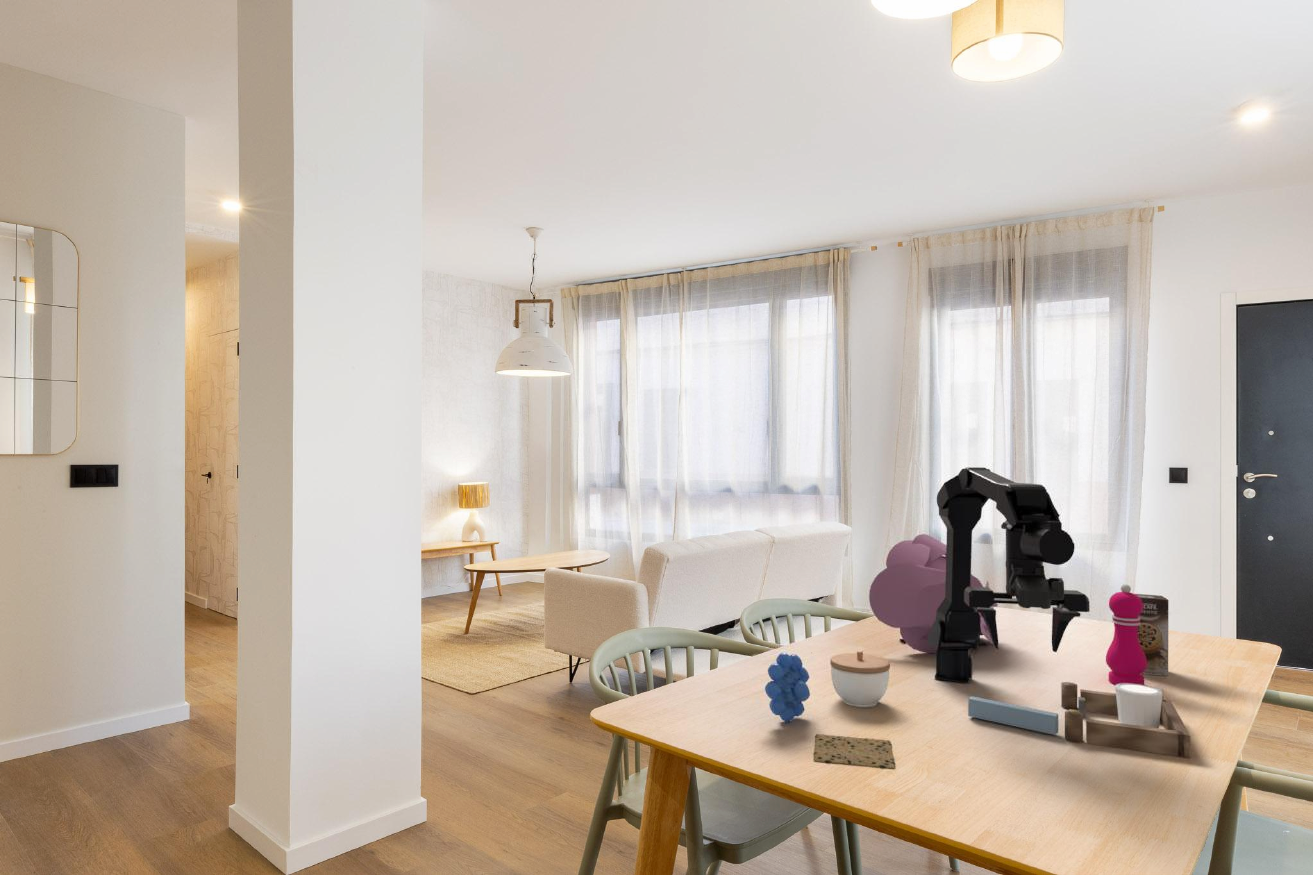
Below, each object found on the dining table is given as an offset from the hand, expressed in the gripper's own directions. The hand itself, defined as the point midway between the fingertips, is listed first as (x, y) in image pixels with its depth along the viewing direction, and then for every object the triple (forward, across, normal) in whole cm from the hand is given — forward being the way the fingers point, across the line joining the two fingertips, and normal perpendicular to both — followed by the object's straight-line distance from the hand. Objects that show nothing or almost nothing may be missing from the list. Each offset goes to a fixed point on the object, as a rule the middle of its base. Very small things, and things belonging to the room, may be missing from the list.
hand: (1025, 650), depth 134 cm
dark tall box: (+13, +33, +44) cm, 57 cm away
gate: (+12, -2, 0) cm, 13 cm away
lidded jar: (+13, -27, +7) cm, 31 cm away
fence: (+13, +15, +3) cm, 20 cm away
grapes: (+13, -39, -7) cm, 42 cm away
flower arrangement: (+12, -6, +60) cm, 61 cm away
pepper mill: (+13, +26, +33) cm, 44 cm away
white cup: (+13, +18, +3) cm, 23 cm away
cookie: (+14, -29, -18) cm, 37 cm away
